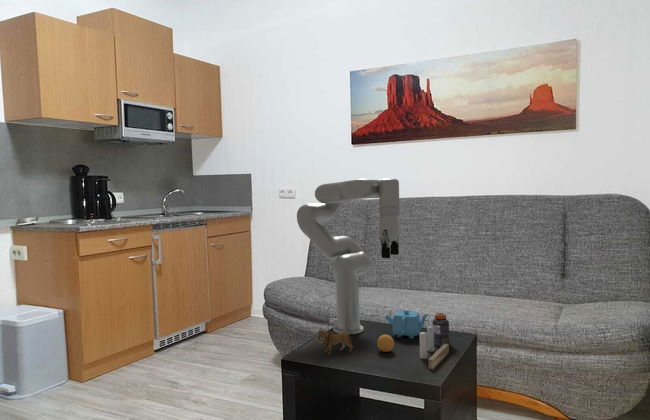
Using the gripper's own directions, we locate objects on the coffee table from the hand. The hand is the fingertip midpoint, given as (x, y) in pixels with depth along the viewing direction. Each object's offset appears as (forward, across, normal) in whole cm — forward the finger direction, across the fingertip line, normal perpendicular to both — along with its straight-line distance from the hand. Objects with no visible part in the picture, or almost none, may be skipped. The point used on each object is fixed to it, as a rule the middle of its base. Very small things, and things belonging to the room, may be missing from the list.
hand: (390, 256), depth 180 cm
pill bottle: (+33, -4, +18) cm, 38 cm away
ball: (+30, +12, +2) cm, 32 cm away
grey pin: (+33, +5, +16) cm, 37 cm away
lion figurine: (+33, +20, -14) cm, 41 cm away
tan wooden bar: (+33, +13, +21) cm, 41 cm away
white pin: (+33, +13, +16) cm, 38 cm away
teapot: (+33, -10, +3) cm, 34 cm away
